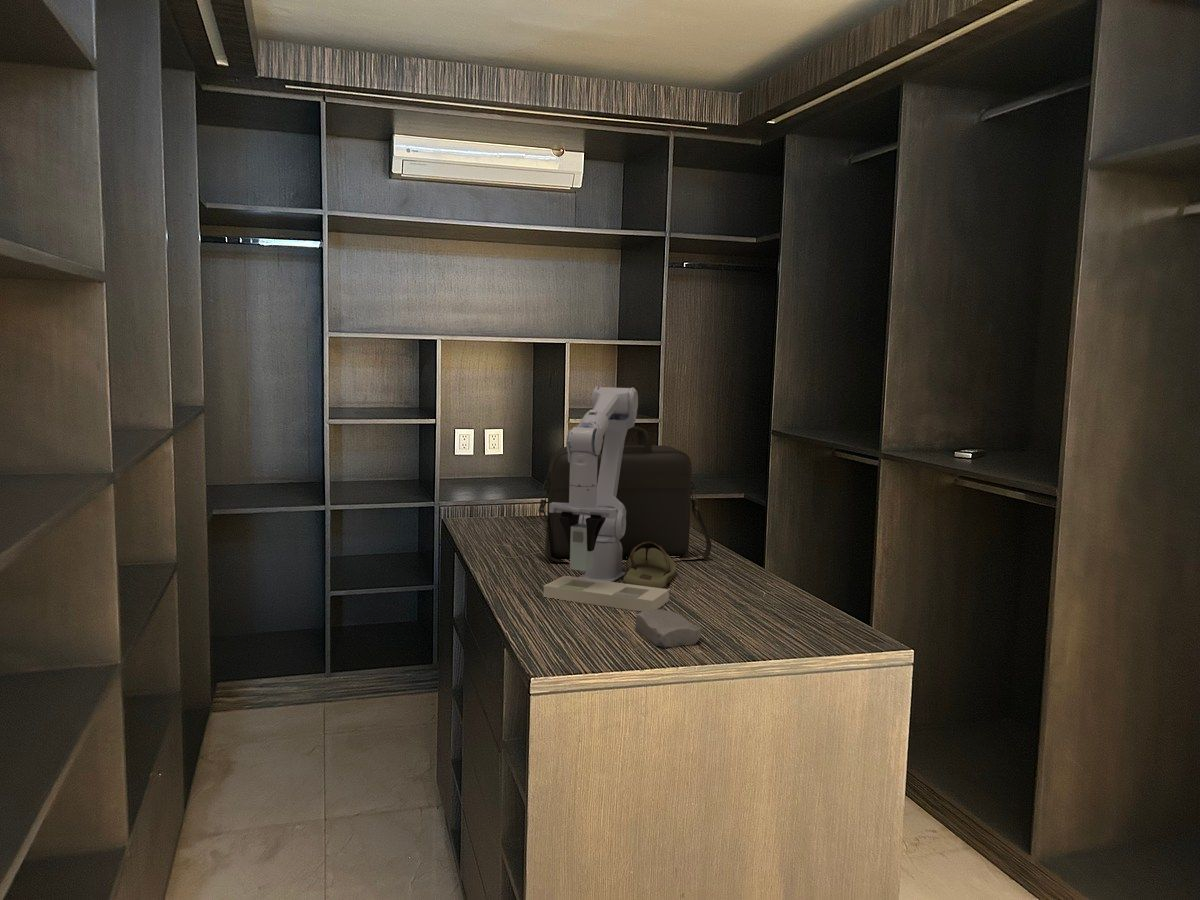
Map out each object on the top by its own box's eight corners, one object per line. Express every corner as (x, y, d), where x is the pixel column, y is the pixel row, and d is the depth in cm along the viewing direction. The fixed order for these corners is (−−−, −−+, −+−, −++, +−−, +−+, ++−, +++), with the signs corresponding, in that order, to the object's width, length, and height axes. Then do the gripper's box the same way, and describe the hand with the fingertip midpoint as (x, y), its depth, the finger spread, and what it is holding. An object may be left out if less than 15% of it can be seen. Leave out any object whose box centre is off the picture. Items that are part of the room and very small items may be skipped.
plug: (576, 565, 197) (577, 523, 196) (592, 567, 196) (593, 525, 195) (568, 569, 194) (569, 526, 193) (584, 571, 192) (585, 528, 191)
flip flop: (630, 564, 227) (631, 530, 226) (679, 568, 225) (680, 533, 224) (611, 595, 198) (612, 556, 197) (666, 599, 196) (668, 560, 195)
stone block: (676, 635, 177) (629, 629, 173) (682, 611, 176) (635, 604, 172) (705, 657, 166) (655, 651, 162) (711, 631, 165) (662, 625, 162)
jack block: (564, 586, 203) (564, 574, 202) (668, 601, 193) (669, 588, 193) (543, 597, 193) (543, 584, 193) (652, 613, 184) (652, 599, 184)
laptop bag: (696, 550, 244) (701, 424, 240) (712, 561, 232) (717, 428, 228) (533, 553, 235) (536, 422, 232) (541, 564, 223) (544, 427, 219)
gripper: (543, 484, 192) (541, 549, 194) (608, 490, 187) (606, 556, 188) (557, 480, 199) (556, 543, 200) (621, 485, 193) (619, 550, 195)
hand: (581, 549), depth 195 cm, fingers closed on plug, 4 cm apart
